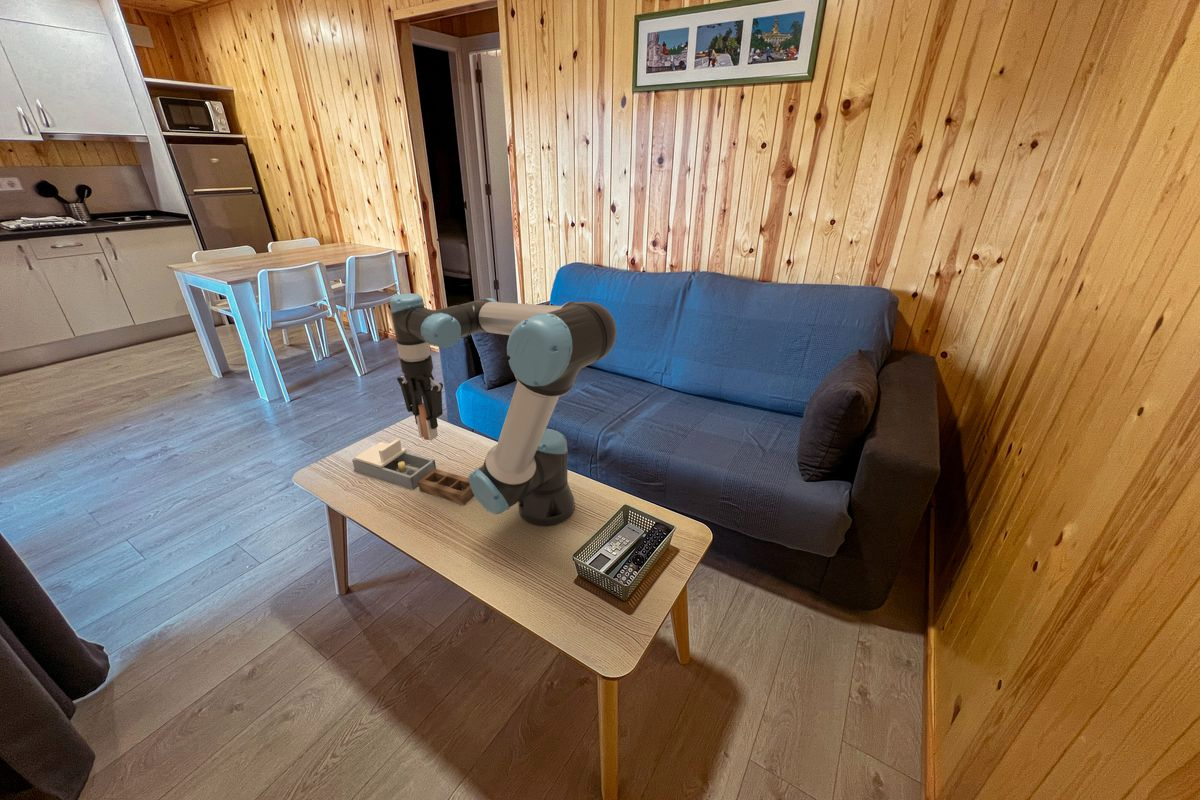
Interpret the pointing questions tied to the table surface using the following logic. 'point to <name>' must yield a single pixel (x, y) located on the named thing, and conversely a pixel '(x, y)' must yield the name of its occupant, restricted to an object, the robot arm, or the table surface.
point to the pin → (423, 420)
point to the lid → (381, 453)
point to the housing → (400, 470)
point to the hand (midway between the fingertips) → (428, 436)
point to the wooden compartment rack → (443, 480)
